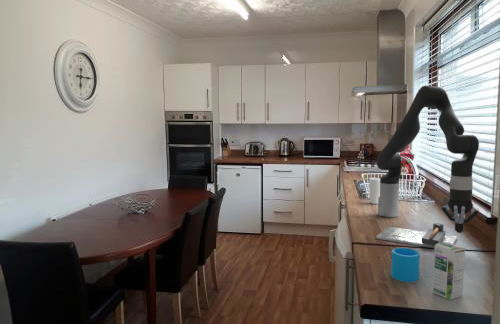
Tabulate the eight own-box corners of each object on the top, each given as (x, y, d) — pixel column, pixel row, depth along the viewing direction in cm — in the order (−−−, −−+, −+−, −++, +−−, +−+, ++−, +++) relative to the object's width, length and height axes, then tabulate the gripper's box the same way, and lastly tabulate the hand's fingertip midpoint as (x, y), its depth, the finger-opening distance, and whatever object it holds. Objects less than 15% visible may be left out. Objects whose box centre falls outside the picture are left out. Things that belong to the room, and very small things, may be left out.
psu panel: (376, 238, 162) (376, 235, 162) (388, 228, 177) (388, 226, 177) (450, 250, 146) (450, 247, 146) (457, 238, 161) (457, 236, 160)
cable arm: (431, 231, 166) (431, 222, 166) (446, 233, 163) (446, 224, 162) (421, 243, 151) (422, 233, 150) (438, 245, 147) (438, 235, 147)
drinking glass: (380, 202, 232) (381, 178, 230) (380, 205, 226) (381, 179, 224) (369, 202, 234) (369, 177, 233) (368, 204, 228) (369, 179, 226)
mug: (422, 282, 118) (423, 257, 117) (394, 281, 119) (394, 256, 118) (411, 268, 130) (412, 244, 129) (386, 267, 131) (387, 243, 130)
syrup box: (431, 292, 111) (433, 243, 110) (445, 288, 114) (447, 240, 112) (449, 300, 106) (451, 249, 105) (463, 296, 109) (466, 246, 107)
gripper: (482, 187, 145) (480, 232, 146) (443, 184, 152) (441, 227, 154) (480, 190, 139) (478, 237, 140) (439, 187, 146) (438, 232, 148)
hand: (459, 232), depth 147 cm, fingers closed
